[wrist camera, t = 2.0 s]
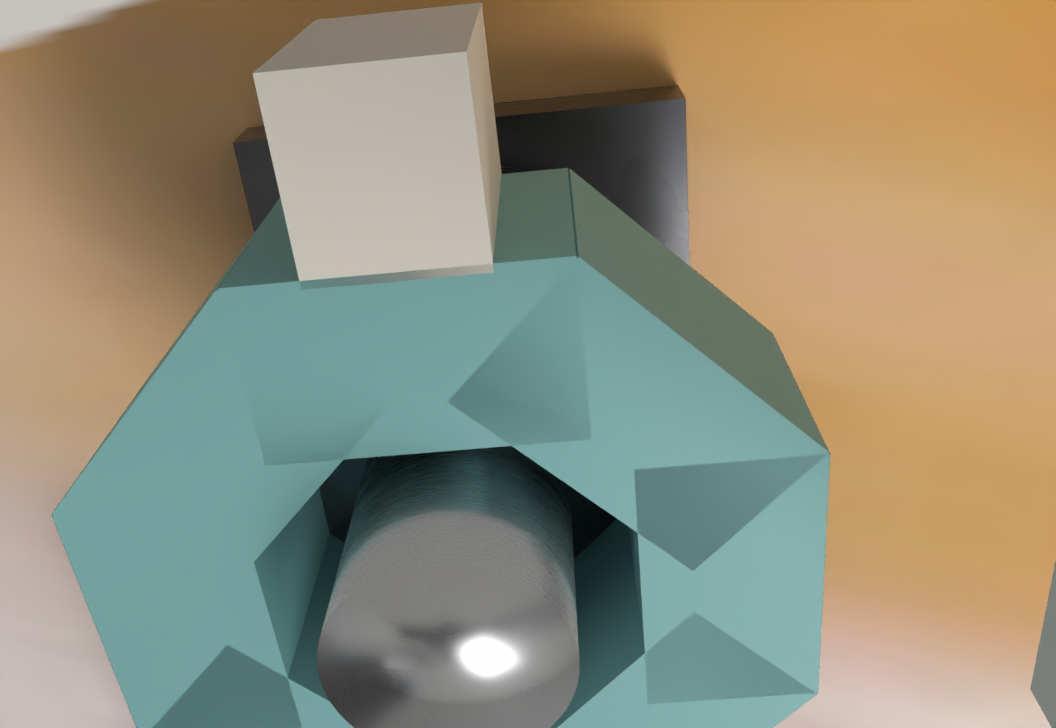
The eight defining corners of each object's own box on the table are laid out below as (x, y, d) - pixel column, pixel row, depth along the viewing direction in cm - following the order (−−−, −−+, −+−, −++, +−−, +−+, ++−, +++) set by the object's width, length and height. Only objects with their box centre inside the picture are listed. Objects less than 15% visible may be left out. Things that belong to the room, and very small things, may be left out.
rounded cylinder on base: (330, 481, 22) (195, 907, 13) (247, 127, 19) (-14, 395, 10) (688, 452, 22) (792, 872, 13) (677, 85, 18) (813, 324, 9)
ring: (244, 706, 17) (191, 864, 15) (30, 49, 12) (-111, 110, 9) (767, 671, 17) (811, 828, 14) (779, -29, 12) (852, 12, 9)
